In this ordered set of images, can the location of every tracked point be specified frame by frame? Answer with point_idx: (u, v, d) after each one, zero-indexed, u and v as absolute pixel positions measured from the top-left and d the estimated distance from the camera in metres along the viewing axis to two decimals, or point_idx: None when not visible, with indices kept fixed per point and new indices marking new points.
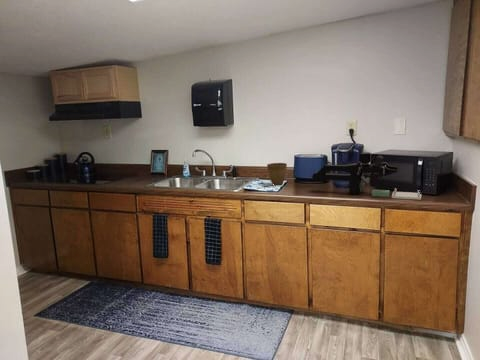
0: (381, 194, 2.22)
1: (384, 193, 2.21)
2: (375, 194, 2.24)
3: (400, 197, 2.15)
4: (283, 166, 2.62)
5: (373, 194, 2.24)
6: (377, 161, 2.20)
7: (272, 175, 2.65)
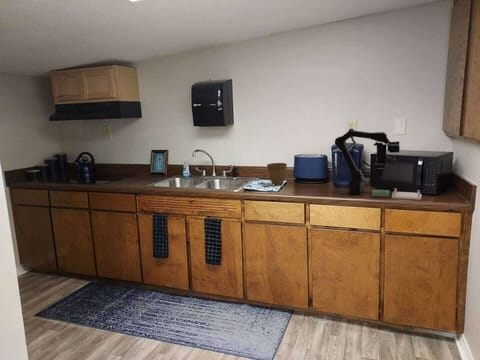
0: (381, 194, 2.22)
1: (384, 193, 2.21)
2: (375, 194, 2.24)
3: (400, 197, 2.15)
4: (283, 166, 2.62)
5: (373, 194, 2.24)
6: (390, 159, 2.16)
7: (272, 175, 2.65)
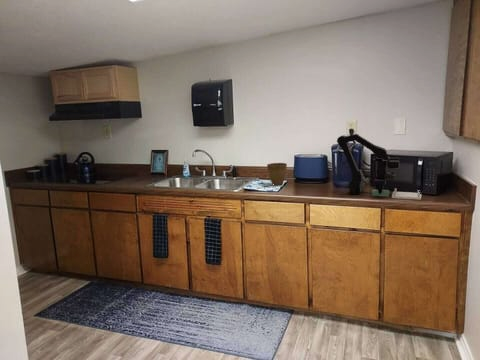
0: (381, 194, 2.22)
1: (384, 193, 2.21)
2: (375, 194, 2.24)
3: (400, 197, 2.15)
4: (283, 166, 2.62)
5: (373, 193, 2.24)
6: (389, 175, 2.18)
7: (272, 175, 2.65)
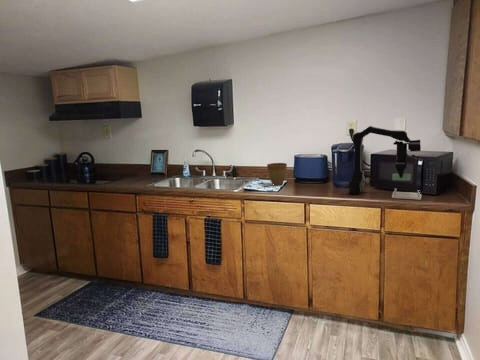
0: (402, 177, 2.15)
1: (405, 176, 2.14)
2: (396, 178, 2.16)
3: (400, 197, 2.15)
4: (283, 166, 2.62)
5: (393, 177, 2.17)
6: (411, 158, 2.11)
7: (272, 175, 2.65)
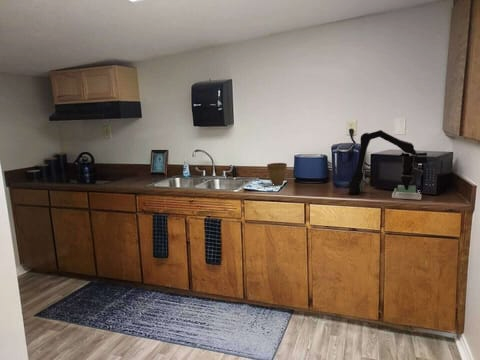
0: (407, 190, 2.15)
1: (411, 189, 2.14)
2: (401, 190, 2.16)
3: (400, 197, 2.15)
4: (283, 166, 2.62)
5: (399, 189, 2.17)
6: (417, 171, 2.11)
7: (272, 175, 2.65)
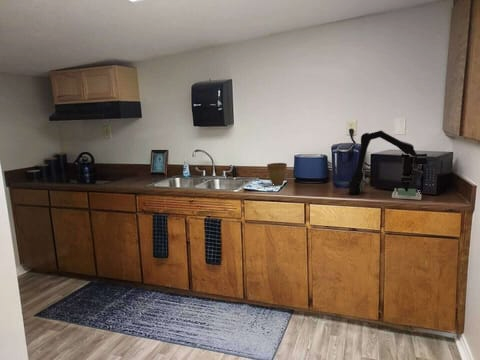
0: (407, 193, 2.15)
1: (411, 192, 2.14)
2: (401, 193, 2.17)
3: (400, 197, 2.15)
4: (283, 166, 2.62)
5: (399, 192, 2.17)
6: (417, 172, 2.11)
7: (272, 175, 2.65)
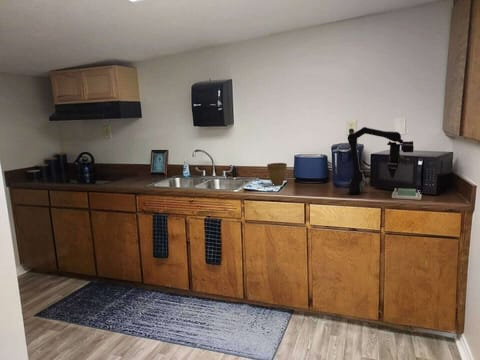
0: (407, 193, 2.15)
1: (411, 192, 2.14)
2: (401, 193, 2.17)
3: (400, 197, 2.15)
4: (283, 166, 2.62)
5: (399, 192, 2.17)
6: (403, 159, 2.15)
7: (272, 175, 2.65)
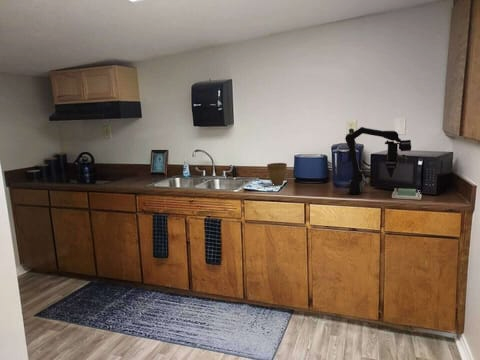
0: (407, 193, 2.15)
1: (411, 192, 2.14)
2: (401, 193, 2.17)
3: (400, 197, 2.15)
4: (283, 166, 2.62)
5: (399, 192, 2.17)
6: (401, 158, 2.16)
7: (272, 175, 2.65)
